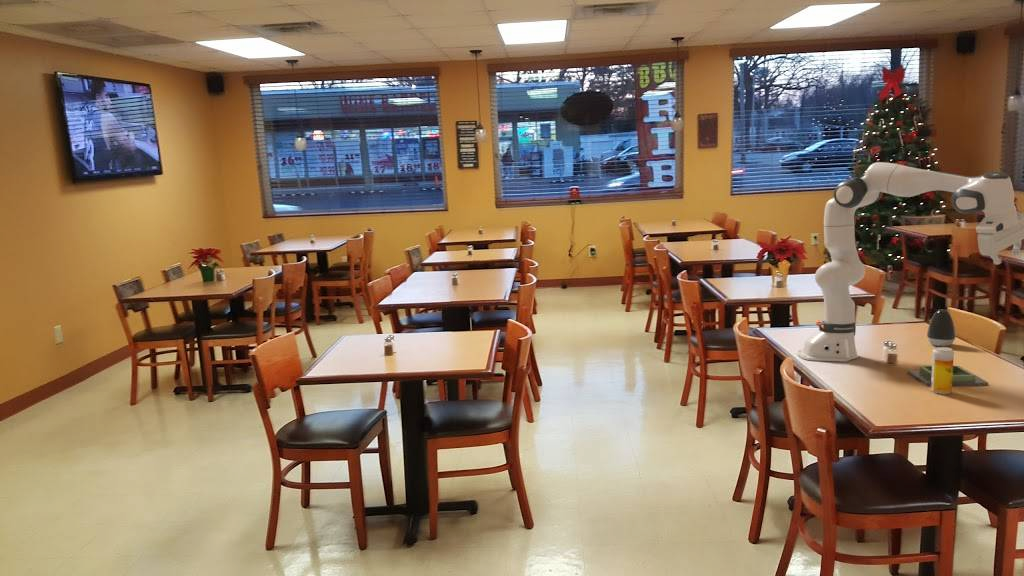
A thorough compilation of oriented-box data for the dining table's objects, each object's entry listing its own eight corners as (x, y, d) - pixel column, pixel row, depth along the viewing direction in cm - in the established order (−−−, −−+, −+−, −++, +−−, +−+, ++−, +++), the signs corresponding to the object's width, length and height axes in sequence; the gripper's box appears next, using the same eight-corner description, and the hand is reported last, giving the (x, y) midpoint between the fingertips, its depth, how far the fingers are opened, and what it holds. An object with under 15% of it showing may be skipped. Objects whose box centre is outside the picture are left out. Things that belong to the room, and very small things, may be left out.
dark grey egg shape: (951, 342, 309) (953, 307, 306) (957, 348, 299) (959, 312, 296) (924, 341, 312) (926, 306, 309) (929, 347, 302) (931, 311, 300)
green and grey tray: (926, 385, 254) (926, 377, 254) (907, 372, 270) (907, 364, 270) (988, 385, 252) (988, 376, 251) (965, 372, 267) (966, 364, 267)
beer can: (954, 395, 244) (956, 351, 241) (934, 394, 245) (936, 351, 242) (947, 389, 250) (949, 346, 247) (928, 389, 251) (930, 346, 248)
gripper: (1012, 209, 251) (1017, 247, 254) (972, 229, 244) (977, 268, 247) (1031, 210, 245) (1036, 249, 248) (990, 230, 238) (996, 270, 242)
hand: (1007, 259), depth 248 cm, fingers open, 8 cm apart
